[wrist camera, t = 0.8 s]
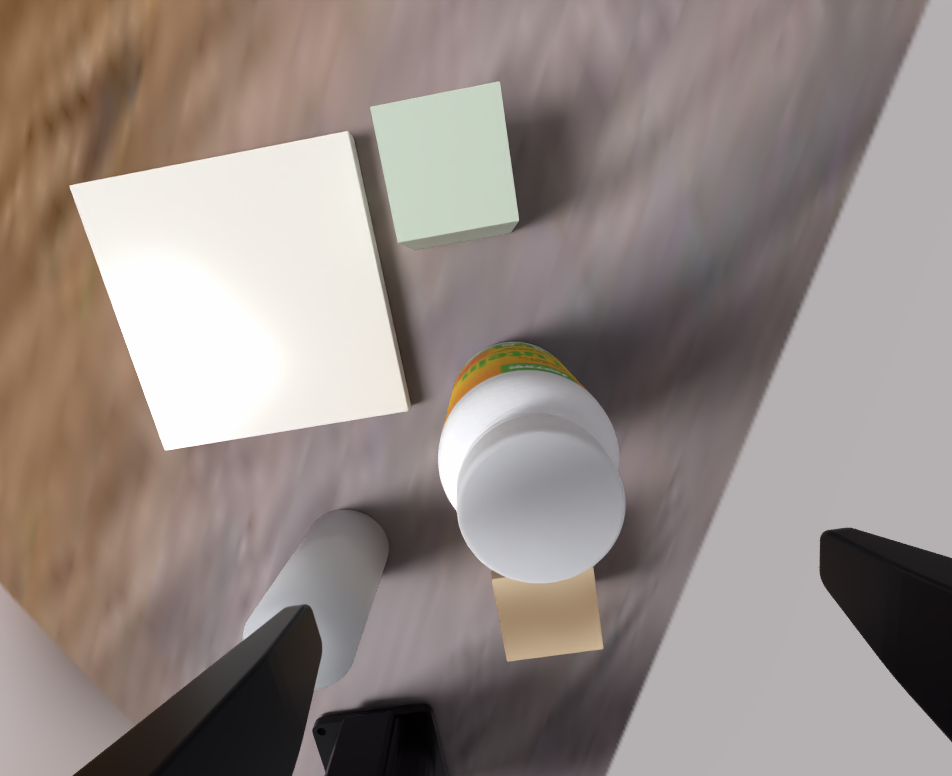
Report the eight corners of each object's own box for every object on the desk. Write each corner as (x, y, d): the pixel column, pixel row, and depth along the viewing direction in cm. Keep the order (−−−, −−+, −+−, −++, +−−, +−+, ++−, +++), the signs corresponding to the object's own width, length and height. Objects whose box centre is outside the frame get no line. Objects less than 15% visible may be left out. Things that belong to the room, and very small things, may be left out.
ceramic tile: (410, 405, 20) (408, 411, 19) (176, 444, 20) (165, 450, 20) (353, 137, 17) (347, 131, 16) (87, 189, 18) (69, 185, 17)
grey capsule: (396, 575, 22) (366, 683, 16) (318, 587, 22) (260, 697, 16) (378, 503, 21) (339, 589, 15) (297, 516, 21) (228, 606, 15)
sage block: (510, 233, 18) (519, 220, 14) (415, 250, 18) (397, 242, 14) (495, 125, 17) (499, 81, 13) (394, 145, 17) (370, 106, 13)
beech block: (581, 583, 22) (603, 649, 18) (502, 594, 22) (507, 661, 18) (572, 512, 21) (593, 565, 17) (489, 524, 21) (491, 579, 17)
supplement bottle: (558, 326, 19) (637, 373, 9) (583, 440, 20) (675, 583, 11) (437, 357, 19) (396, 432, 10) (469, 468, 20) (460, 630, 11)
